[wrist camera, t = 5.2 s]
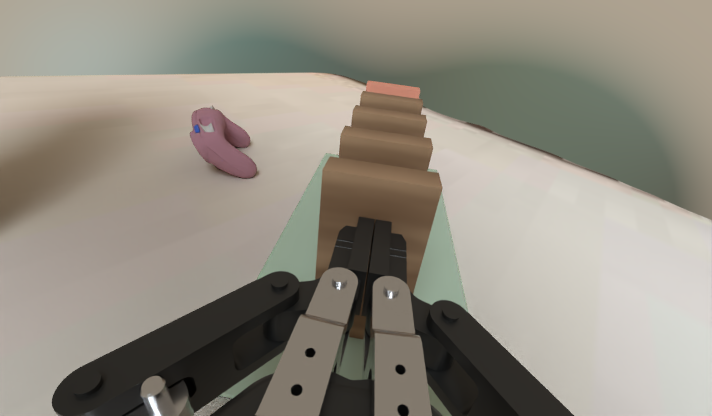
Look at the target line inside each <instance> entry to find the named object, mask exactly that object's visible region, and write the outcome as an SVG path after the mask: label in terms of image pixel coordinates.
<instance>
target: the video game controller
mask: <svg viewBox="0 0 712 416" xmlns="http://www.w3.org/2000/svg"><path fill="white" fill-rule="evenodd" d="M192 126H193V131H192V132H190V137H191V140H192V142H193V144H194V146H195V147H196V149H197V151H198V152H199V154H200V155H201V156H202V157H203V159H204V160H205V161H207V162H208V163H212V164H213V165H215V166H216V167H217V168H218V169H219V170H220V169H221V170H223V171H225V172H227V173H229V174H231V175H234V176H237V177H241V178H251V177H253V176H254V175H255V174H256V172H257V168H256V164H255V163H254V162H253V161H252V159H251V158H249V157H248V156H247V155H245V154H244V153H242V152H241V151H239V150H237V149H236V148H235V147H242V148H245V147H247V146H248V145H249V144H250V137H249V135H248V134H247V132H246V131H245V130H243V129H242V128H241V127H239V126H238V125H236V124H235V123H233V122H231V121H230V120H229V119H228V118H226V117H225V116H224V115H223V114H222V113H221V112H220V111H219V110H215V109H214V107H213V106H211V108H201V109H199V110H196V111H194V112H193V114H192ZM233 146H235V147H233Z"/></svg>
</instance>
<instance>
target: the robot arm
mask: <svg viewBox="0 0 712 416" xmlns="http://www.w3.org/2000/svg"><path fill="white" fill-rule="evenodd" d="M374 220H375V219H372V218H366V217H359V219H358V223H357V227H353V226H347V225H346V226H345V227H343V228H342V229H341V230H340V231H339V234H338V237H337V240H336V244H335V247H334V251H333V254H332V257H331V261H330V264H329V267H328V270H327V271H325V272H324V273H323V275H322V276H321V277H320V278H318V279H316V280H312V281H301V282H299V280H298V278H297V277H296V276H295V275H294V274H292V273H289V272H286V271H276V272H272V273H270V274H268V275H266V276H264V277H262V278H260V279H258V280H255V281H253V282H251V283H249V284H247V285H245V286H243V287H241V288H239V289H237V290H235V291H233V292H231V293H229V294H227V295H225V296H223V297H221V298H219V299H217V300H215V301H213V302H211V303H209V304H207V305H205V306H203V307H201V308H199V309H197V310H195V311H193V312H191V313H189V314H187V315H185V316H183V317H181V318H179V319H177V320H175V321H173V322H171V323H169V324H167V325H165V326H163V327H161V328H159V329H156V330H154V331H152V332H150V333H148V334H146V335H144V336H142V337H140V338H138V339H136V340H134V341H132V342H130V343H128V344H126V345H124V346H122V347H120V348H118V349H116V350H114V351H112V352H110V353H108V354H106V355H104V356H102V357H100V358H98V359H96V360H94V361H92V362H90V363H88V364H86V365H84V366H82V367H80V368H78V369H77V370H75V371H74V372H72V373H71V374H70V375H68V376H67V377H66V378H65V379H64V380H63V381H62V382H61V383H60V385H59V386H58V387H57V389H56V391H55V393H54V395H53V398H52V406H53V409H54V411H55V412H56V413H57V415H58V416H194V413H195V412H196V411H198V410H199V409H201V408H202V407H203V406H205V405H206V404H208V403H209V402H211V401H212V400H214V399H215V398H216V397H218V396H219V395H221V394H222V393H224V392H225V391H227V390H228V389H230V388H231V387H232V386H234V385H235V384H237V383H238V382H240V381H241V380H243V379H244V378H245V377H247V376H248V375H250V374H251V373H253V372H254V371H256V370H257V369H258V368H260V367H261V366H263V365H264V364H266V363H267V362H269V361H270V360H271V359H273V358H274V357H276V356H277V355H279V354H280V353H282V352H283V351H284V352H283V354H282V357H281V359H280V361H279V363H278V366H277V368H276V370H275V372H274V373H273V374H270V375H267V376H265V377H263V378H261V379H259V380H257V381H256V382H254V383H252V384H251V385H250V386H248V387H247V388H246V389H244V390H243V391H242V392H240V393H239V394H238V395H236V396H235V397H234V398H233V399H231V400H230V401H229V402H227V403H226V404H225V405H223V406H222V407H221V408H219V409H218V410H217V411H215V412H214V413H213V414H212V415H210V416H442V414H441V413H440V412H439V411H438V410H437V409H436V408H435V407H434V406H432V405H431V404H430V398H429V391H428V385H429V386H430V387H431V389H432V390H433V391H434V393H435V394H436V395H437V397H438V398H439V399H440V401H441V402H442V403H443V405H444V406H445V407H446V409H447V410H448V411H449V413H450V414H451V415H452V416H574V415H573V414H572V413H571V412H570V411H569V410H568V409H567V408H566V407H565V406H564V405H563V404H562V403H561V402H560V401H559V400H557V399H556V398H555V397H554V396H553V395H552V394H551V393H550V392H549V391H548V390H547V389H546V388H545V387H544V386H543V385H542V384H541V383H540V382H539V381H538V380H537V379H536V378H535V377H534V376H533V375H532V374H531V373H530V372H529V371H528V370H527V369H526V368H525V367H523V366H522V365H521V364H520V363H519V362H518V361H517V360H516V359H515V358H514V357H513V356H512V355H511V354H510V353H509V352H508V351H507V350H506V349H505V348H504V347H503V346H502V345H501V344H500V343H499V342H498V341H497V340H496V339H495V338H494V337H493V336H492V335H491V334H490V333H488V332H487V331H486V330H485V329H484V328H483V327H482V326H481V325H480V324H479V323H478V322H477V321H476V320H475V319H474V318H473V317H472V316H471V315H470V314H469V313H468V312H467V311H466V310H465V309H464V308H463V307H461V306H460V305H459V304H457V303H455V302H452V301H449V300H439V301H436V302H434V303H433V304H432V305H431V304H429V303H426V302H424V301H422V300H420V299H418V298H417V297H416V296H414V295H413V294H412V293H411V291H410V289H409V287H408V285H407V259H406V257H407V252H406V251H407V248H406V241H405V239H404V238H403V236H402V234H395V233H391V228H392V222H390V221H384V220H378V219H376V222H375V228H374V233H373V227H374ZM372 234H373V239H372ZM371 241H372V245H371ZM370 248H371V251H370ZM369 255H370V257H369ZM368 262H369V264H368ZM367 269H368V271H367ZM366 275H367V278H366ZM365 281H366V285H365ZM364 287H365V293H364ZM363 293H364V300H363V307H362V314H361V316H366V324H365V329H364V336H363V363H362V380H350V379H348V378H345V377H343V376H341V375H339V373H340V370H341V366H342V362H343V358H344V354H345V350H346V347H347V343H348V339H349V335H350V330H351V328H352V326H353V323H354V317H355V315H360V310H361V304H362V298H363Z"/></svg>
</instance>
